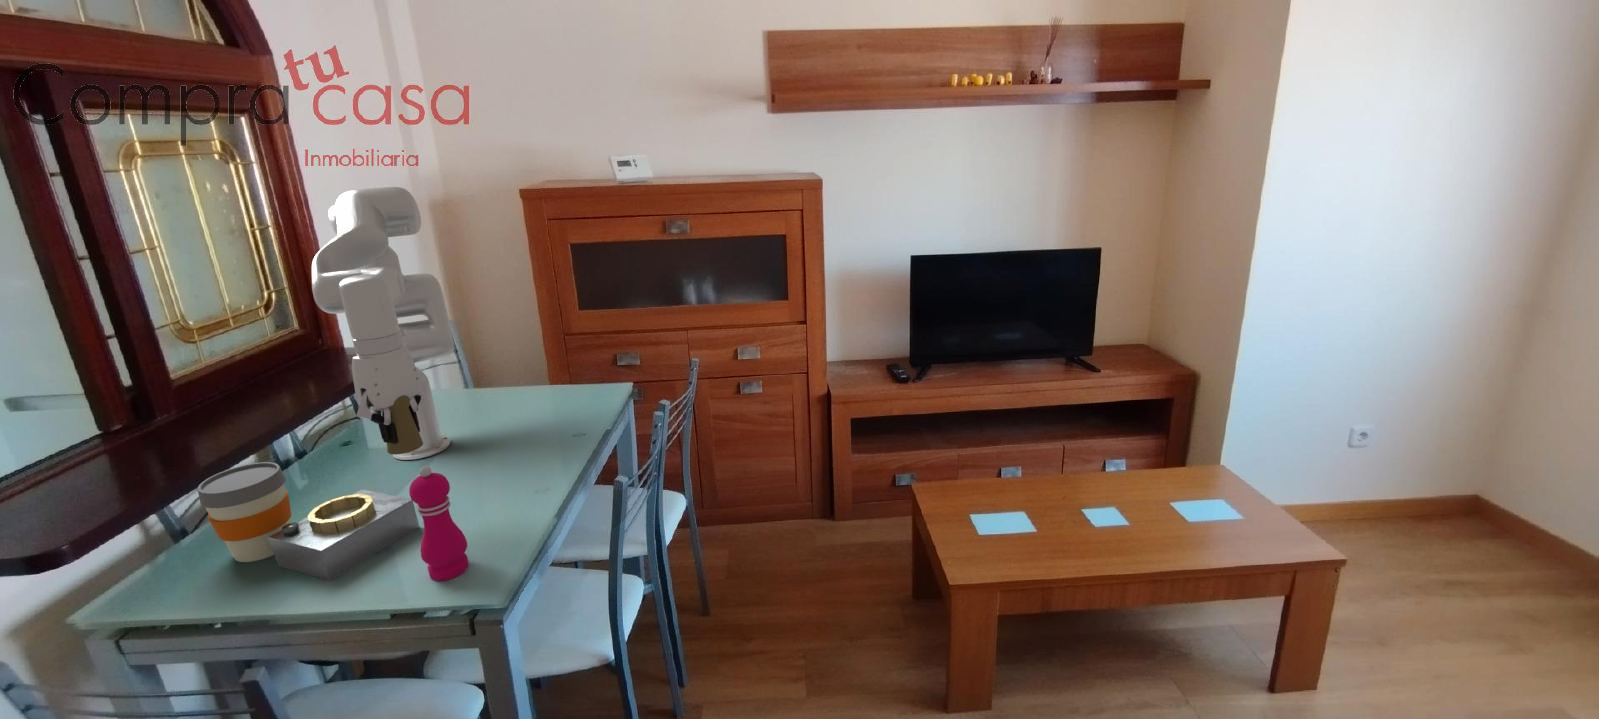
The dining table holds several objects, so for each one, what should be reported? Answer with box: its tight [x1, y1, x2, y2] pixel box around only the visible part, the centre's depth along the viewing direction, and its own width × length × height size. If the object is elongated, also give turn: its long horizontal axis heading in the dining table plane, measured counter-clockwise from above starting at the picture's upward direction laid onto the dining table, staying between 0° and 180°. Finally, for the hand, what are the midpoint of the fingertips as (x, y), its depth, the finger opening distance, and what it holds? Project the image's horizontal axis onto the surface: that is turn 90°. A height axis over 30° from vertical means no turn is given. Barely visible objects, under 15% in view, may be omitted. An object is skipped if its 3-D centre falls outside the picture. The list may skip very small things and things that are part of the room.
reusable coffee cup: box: [197, 461, 292, 563], centre depth 129 cm, size 12×12×15 cm
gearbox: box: [269, 488, 420, 581], centre depth 129 cm, size 14×18×8 cm
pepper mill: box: [408, 466, 470, 582], centre depth 118 cm, size 7×7×20 cm
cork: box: [386, 395, 423, 455], centre depth 129 cm, size 6×6×11 cm
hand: (402, 436), depth 130 cm, fingers closed on cork, 4 cm apart
